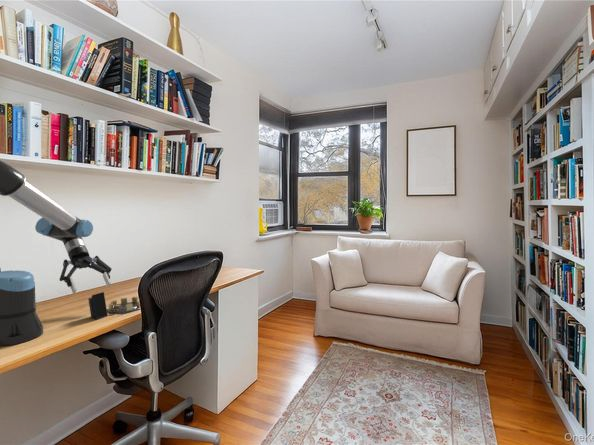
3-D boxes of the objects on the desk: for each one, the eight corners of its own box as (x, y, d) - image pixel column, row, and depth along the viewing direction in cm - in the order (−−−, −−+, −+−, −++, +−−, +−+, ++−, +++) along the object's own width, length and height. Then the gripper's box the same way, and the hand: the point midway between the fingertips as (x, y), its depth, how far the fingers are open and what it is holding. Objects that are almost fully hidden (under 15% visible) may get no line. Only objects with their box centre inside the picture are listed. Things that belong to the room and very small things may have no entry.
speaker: (111, 315, 137) (107, 291, 137) (95, 320, 133) (92, 295, 132) (104, 314, 142) (100, 290, 142) (89, 318, 137) (85, 294, 137)
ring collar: (99, 313, 142) (99, 306, 142) (122, 302, 157) (122, 296, 156) (131, 314, 140) (131, 306, 140) (151, 303, 155) (151, 297, 155)
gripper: (104, 252, 162) (119, 287, 154) (42, 260, 142) (56, 300, 134) (108, 243, 158) (124, 277, 150) (46, 249, 138) (61, 289, 130)
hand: (92, 288), depth 142 cm, fingers open, 13 cm apart
